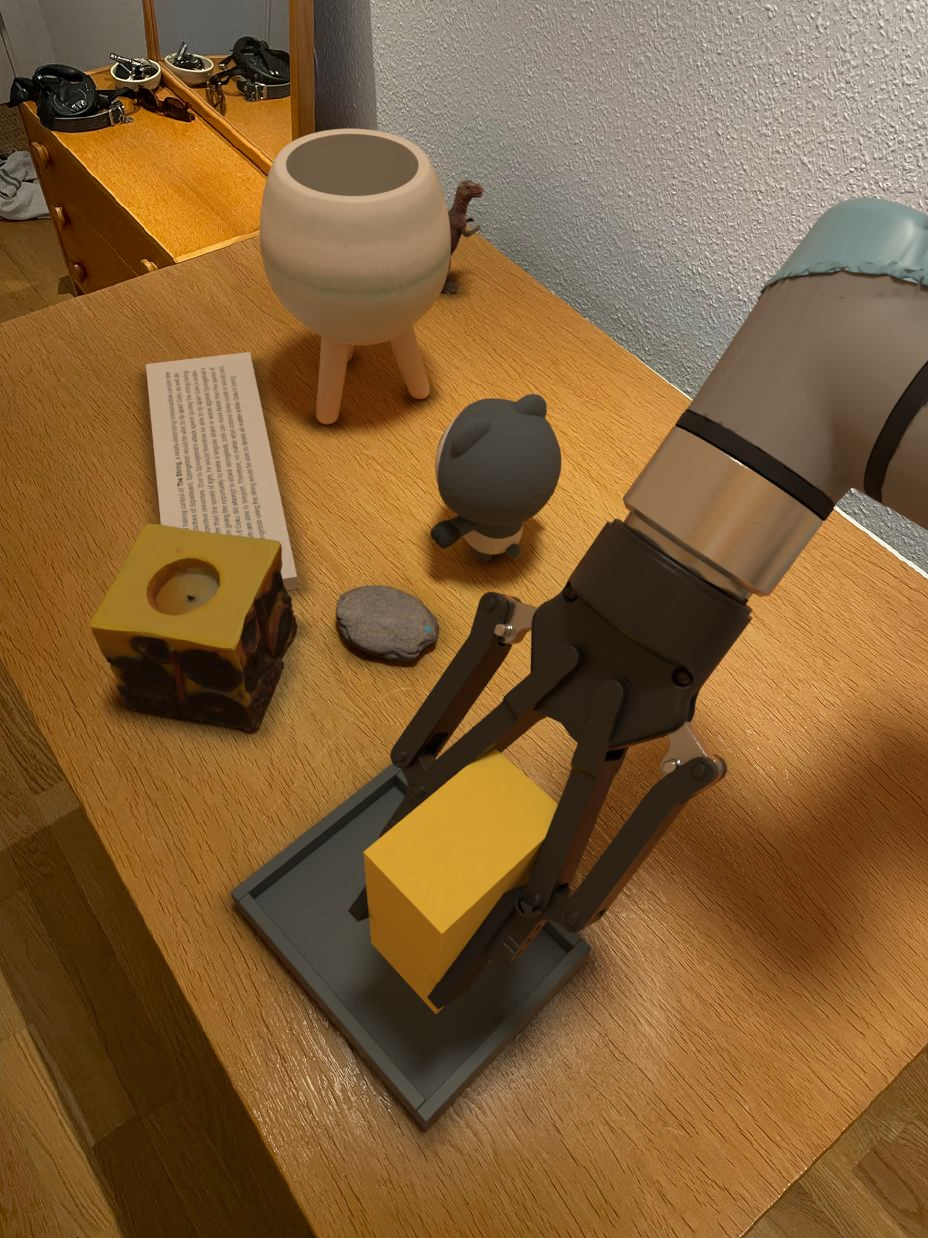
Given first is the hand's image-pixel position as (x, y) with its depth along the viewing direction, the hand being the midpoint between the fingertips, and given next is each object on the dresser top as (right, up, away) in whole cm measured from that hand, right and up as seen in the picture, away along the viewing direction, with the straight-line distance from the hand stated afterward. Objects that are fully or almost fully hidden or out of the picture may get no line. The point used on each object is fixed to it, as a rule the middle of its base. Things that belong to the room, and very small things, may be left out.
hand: (407, 951), depth 46 cm
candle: (-16, +12, +25) cm, 32 cm away
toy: (+5, +22, +34) cm, 41 cm away
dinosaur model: (-3, +53, +58) cm, 79 cm away
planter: (-7, +38, +47) cm, 61 cm away
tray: (-1, -3, +13) cm, 13 cm away
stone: (-3, +15, +28) cm, 32 cm away
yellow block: (+3, 0, +4) cm, 5 cm away
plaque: (-19, +29, +38) cm, 52 cm away
